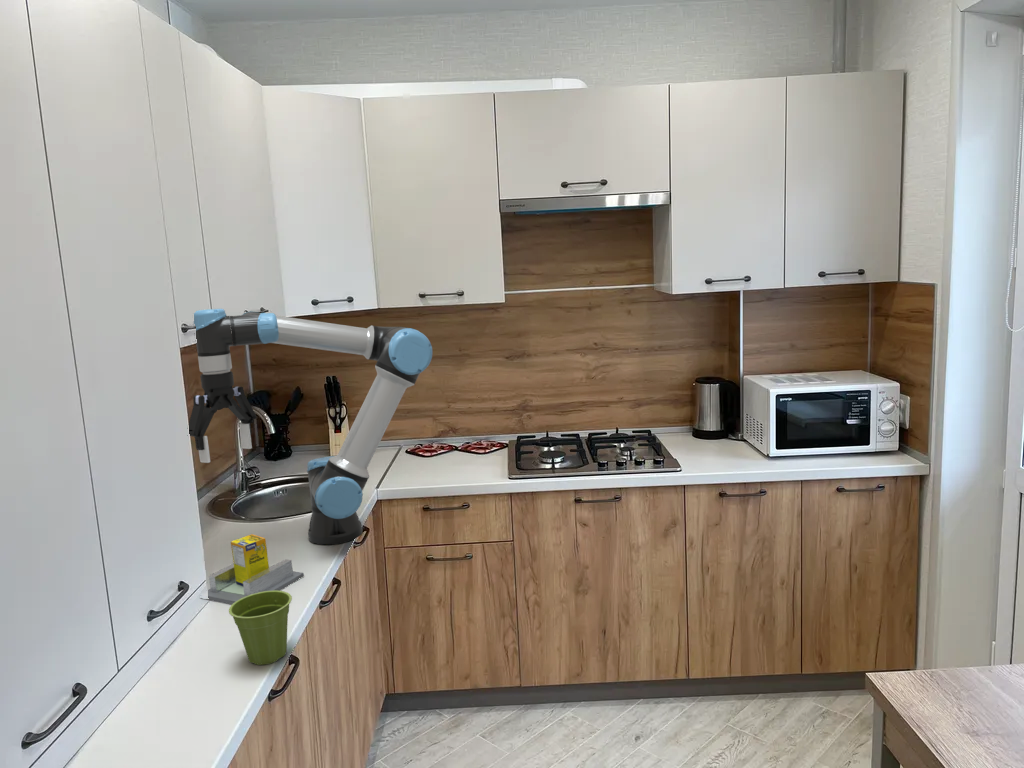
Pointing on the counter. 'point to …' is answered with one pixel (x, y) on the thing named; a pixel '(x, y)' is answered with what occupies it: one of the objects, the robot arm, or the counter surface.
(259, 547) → the supplement box
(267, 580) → the docking plate
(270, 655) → the plant pot
